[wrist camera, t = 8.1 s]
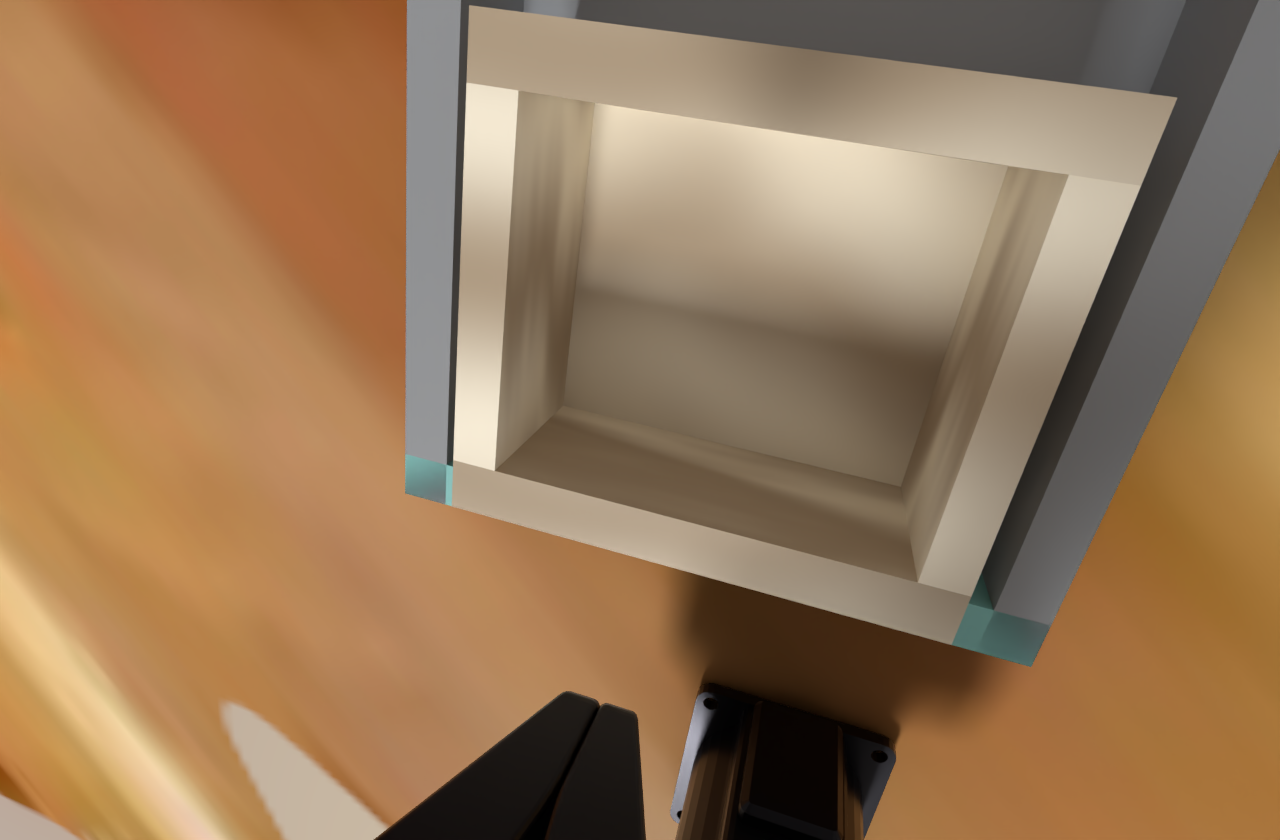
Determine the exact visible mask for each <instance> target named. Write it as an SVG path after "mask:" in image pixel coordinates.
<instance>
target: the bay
mask: <svg viewBox="0 0 1280 840" xmlns="http://www.w3.org/2000/svg"><path fill="white" fill-rule="evenodd" d="M469 5H472V6H479V7H487V8H495V9H502V10H510V11H518V12H525V13H533V14H541V15H548V16H556V17H564V18H571V19H579V20H587V21H594V22H602V23H610V24H617V25H625V26H633V27H640V28H648V29H656V30H663V31H671V32H679V33H686V34H694V35H702V36H709V37H717V38H725V39H733V40H740V41H748V42H756V43H763V44H771V45H779V46H786V47H794V48H802V49H809V50H817V51H825V52H832V53H840V54H848V55H855V56H863V57H871V58H878V59H886V60H894V61H901V62H909V63H917V64H924V65H932V66H940V67H947V68H955V69H963V70H970V71H978V72H986V73H993V74H1001V75H1009V76H1016V77H1024V78H1032V79H1039V80H1047V81H1055V82H1062V83H1070V84H1078V85H1085V86H1093V87H1101V88H1108V89H1116V90H1124V91H1131V92H1139V93H1147V94H1154V95H1162V96H1170V97H1177V100H1176V102H1175V105H1174V107H1173V110H1172V112H1171V115H1170V117H1169V119H1168V122H1167V124H1166V127H1165V129H1164V131H1163V134H1162V136H1161V139H1160V141H1159V144H1158V146H1157V148H1156V151H1155V153H1154V156H1153V158H1152V161H1151V163H1150V165H1149V168H1148V170H1147V173H1146V175H1145V177H1144V180H1143V182H1142V185H1141V187H1140V190H1139V192H1138V194H1137V197H1136V199H1135V202H1134V204H1133V207H1132V209H1131V211H1130V214H1129V216H1128V219H1127V221H1126V223H1125V226H1124V228H1123V231H1122V233H1121V236H1120V238H1119V240H1118V243H1117V245H1116V248H1115V250H1114V253H1113V255H1112V257H1111V260H1110V262H1109V265H1108V267H1107V270H1106V272H1105V274H1104V277H1103V279H1102V282H1101V284H1100V286H1099V289H1098V291H1097V294H1096V296H1095V299H1094V301H1093V303H1092V306H1091V308H1090V311H1089V313H1088V316H1087V318H1086V320H1085V323H1084V325H1083V328H1082V330H1081V332H1080V335H1079V337H1078V340H1077V342H1076V345H1075V347H1074V349H1073V352H1072V354H1071V357H1070V359H1069V362H1068V364H1067V366H1066V369H1065V371H1064V374H1063V376H1062V378H1061V381H1060V383H1059V386H1058V388H1057V391H1056V393H1055V395H1054V398H1053V400H1052V403H1051V405H1050V408H1049V410H1048V412H1047V415H1046V417H1045V420H1044V422H1043V424H1042V427H1041V429H1040V432H1039V434H1038V437H1037V439H1036V441H1035V444H1034V446H1033V449H1032V451H1031V454H1030V456H1029V458H1028V461H1027V463H1026V466H1025V468H1024V470H1023V473H1022V475H1021V478H1020V480H1019V483H1018V485H1017V487H1016V490H1015V492H1014V495H1013V497H1012V500H1011V502H1010V504H1009V507H1008V509H1007V512H1006V514H1005V516H1004V519H1003V521H1002V524H1001V526H1000V529H999V531H998V533H997V536H996V538H995V541H994V543H993V546H992V548H991V550H990V553H989V555H988V558H987V560H986V563H985V565H984V567H983V570H982V572H981V575H980V577H979V579H978V582H977V584H976V587H975V589H974V592H973V594H972V596H971V599H970V601H969V604H968V606H967V609H966V611H965V613H964V616H963V618H962V621H961V623H960V625H959V628H958V630H957V633H956V635H955V638H954V640H953V642H952V645H954V646H958V647H961V648H965V649H968V650H972V651H976V652H979V653H983V654H986V655H990V656H994V657H997V658H1001V659H1004V660H1008V661H1012V662H1015V663H1019V664H1022V665H1026V666H1030V667H1031V666H1032V664H1033V662H1034V660H1035V658H1036V656H1037V653H1038V651H1039V649H1040V647H1041V645H1042V643H1043V641H1044V639H1045V637H1046V635H1047V633H1048V631H1049V629H1050V626H1051V624H1052V622H1053V620H1054V618H1055V616H1056V614H1057V612H1058V610H1059V608H1060V606H1061V604H1062V601H1063V599H1064V597H1065V595H1066V593H1067V591H1068V589H1069V587H1070V585H1071V583H1072V581H1073V579H1074V576H1075V574H1076V572H1077V570H1078V568H1079V566H1080V564H1081V562H1082V560H1083V558H1084V556H1085V554H1086V551H1087V549H1088V547H1089V545H1090V543H1091V541H1092V539H1093V537H1094V535H1095V533H1096V531H1097V529H1098V527H1099V524H1100V522H1101V520H1102V518H1103V516H1104V514H1105V512H1106V510H1107V508H1108V506H1109V504H1110V502H1111V499H1112V497H1113V495H1114V493H1115V491H1116V489H1117V487H1118V485H1119V483H1120V481H1121V479H1122V477H1123V474H1124V472H1125V470H1126V468H1127V466H1128V464H1129V462H1130V460H1131V458H1132V456H1133V454H1134V452H1135V450H1136V447H1137V445H1138V443H1139V441H1140V439H1141V437H1142V435H1143V433H1144V431H1145V429H1146V427H1147V425H1148V422H1149V420H1150V418H1151V416H1152V414H1153V412H1154V410H1155V408H1156V406H1157V404H1158V402H1159V400H1160V397H1161V395H1162V393H1163V391H1164V389H1165V387H1166V385H1167V383H1168V381H1169V379H1170V377H1171V375H1172V373H1173V370H1174V368H1175V366H1176V364H1177V362H1178V360H1179V358H1180V356H1181V354H1182V352H1183V350H1184V348H1185V345H1186V343H1187V341H1188V339H1189V337H1190V335H1191V333H1192V331H1193V329H1194V327H1195V325H1196V323H1197V320H1198V318H1199V316H1200V314H1201V312H1202V310H1203V308H1204V306H1205V304H1206V302H1207V300H1208V298H1209V296H1210V293H1211V291H1212V289H1213V287H1214V285H1215V283H1216V281H1217V279H1218V277H1219V275H1220V273H1221V271H1222V268H1223V266H1224V264H1225V262H1226V260H1227V258H1228V256H1229V254H1230V252H1231V250H1232V248H1233V246H1234V243H1235V241H1236V239H1237V237H1238V235H1239V233H1240V231H1241V229H1242V227H1243V225H1244V223H1245V221H1246V218H1247V216H1248V214H1249V212H1250V210H1251V208H1252V206H1253V204H1254V202H1255V200H1256V198H1257V196H1258V194H1259V191H1260V189H1261V187H1262V185H1263V183H1264V181H1265V179H1266V177H1267V175H1268V173H1269V171H1270V169H1271V166H1272V164H1273V162H1274V160H1275V158H1276V156H1277V154H1278V152H1279V150H1280V0H407V168H406V447H405V493H406V494H410V495H414V496H417V497H421V498H424V499H428V500H432V501H435V502H439V503H442V504H446V505H450V506H452V482H453V454H454V425H455V397H456V368H457V340H458V311H459V283H460V254H461V226H462V197H463V169H464V140H465V112H466V83H467V55H468V26H469Z"/></svg>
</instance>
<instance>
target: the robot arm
mask: <svg viewBox="0 0 1280 840" xmlns="http://www.w3.org/2000/svg"><path fill="white" fill-rule="evenodd" d="M707 698H713V699H715V700H716V701H710V700H708V699H707ZM876 750H880V751H883V752H882V753H877V752H875V751H876ZM895 762H896V751H895V746H894V743H893V742H892V741H891V740H890V739H889V738H887V737H885V736H883V735H880V734H877V733H873V732H870V731H867V730H863V729H860V728H857V727H854V726H850V725H847V724H844V723H841V722H837V721H834V720H831V719H828V718H824V717H821V716H818V715H814V714H811V713H808V712H805V711H801V710H798V709H795V708H792V707H788V706H785V705H782V704H779V703H775V702H772V701H769V700H765V699H762V698H759V697H756V696H752V695H749V694H746V693H743V692H739V691H736V690H733V689H729V688H726V687H723V686H720V685H716V684H711V683H709V684H704V685H703V686H701V687H700V689H699V691H698V694H697V698H696V702H695V707H694V711H693V715H692V720H691V724H690V728H689V733H688V737H687V741H686V746H685V750H684V754H683V759H682V763H681V767H680V772H679V776H678V780H677V784H676V789H675V793H674V797H673V802H672V806H671V810H670V815H671V817H672V819H673V820H674V821H675V822H677V823H679V826H678V830H677V835H676V839H675V840H864V838H865V835H866V833H867V830H868V828H869V826H870V823H871V821H872V818H873V816H874V813H875V811H876V808H877V806H878V803H879V801H880V798H881V796H882V794H883V791H884V789H885V786H886V784H887V781H888V779H889V776H890V774H891V771H892V769H893V767H894V764H895ZM374 840H646V834H645V819H644V804H643V789H642V774H641V759H640V744H639V729H638V718H637V715H636V714H635V712H633V711H630V710H627V709H624V708H621V707H618V706H615V705H612V704H609V703H604V704H602V705H601V706H600V705H599V703H598V701H597V700H595V699H593V698H590V697H587V696H584V695H581V694H577V693H574V692H571V691H566V692H563V693H561V694H560V695H558V696H557V697H556V698H555V699H553V700H552V701H551V702H549V703H548V704H547V705H546V706H544V707H543V708H542V709H540V710H539V711H538V712H537V713H535V714H534V715H533V716H532V717H530V718H529V719H528V720H526V721H525V722H524V723H523V724H521V725H520V726H519V727H517V728H516V729H515V730H514V731H512V732H511V733H510V734H508V735H507V736H506V737H505V738H503V739H502V740H501V741H500V742H498V743H497V744H496V745H494V746H493V747H492V748H491V749H489V750H488V751H487V752H485V753H484V754H483V755H482V756H480V757H479V758H478V759H476V760H475V761H474V762H473V763H471V764H470V765H469V766H468V767H466V768H465V769H464V770H462V771H461V772H460V773H459V774H457V775H456V776H455V777H453V778H452V779H451V780H450V781H448V782H447V783H446V784H444V785H443V786H442V787H441V788H439V789H438V790H437V791H436V792H434V793H433V794H432V795H430V796H429V797H428V798H427V799H425V800H424V801H423V802H421V803H420V804H419V805H418V806H416V807H415V808H414V809H412V810H411V811H410V812H409V813H407V814H406V815H405V816H403V817H402V818H401V819H400V820H398V821H397V822H396V823H395V824H393V825H392V826H391V827H389V828H388V829H387V830H386V831H384V832H383V833H382V834H381V835H379V836H378V837H377V838H375V839H374Z"/></svg>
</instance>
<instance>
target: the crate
mask: <svg viewBox="0 0 1280 840" xmlns="http://www.w3.org/2000/svg"><path fill="white" fill-rule="evenodd" d="M1176 100H1177V97H1170V96H1162V95H1154V94H1147V93H1139V92H1131V91H1124V90H1116V89H1108V88H1101V87H1093V86H1085V85H1078V84H1070V83H1062V82H1055V81H1047V80H1039V79H1032V78H1024V77H1016V76H1009V75H1001V74H993V73H986V72H978V71H970V70H963V69H955V68H947V67H940V66H932V65H924V64H917V63H909V62H901V61H894V60H886V59H878V58H871V57H863V56H855V55H848V54H840V53H832V52H825V51H817V50H809V49H802V48H794V47H786V46H779V45H771V44H763V43H756V42H748V41H740V40H733V39H725V38H717V37H709V36H702V35H694V34H686V33H679V32H671V31H663V30H656V29H648V28H640V27H633V26H625V25H617V24H610V23H602V22H594V21H587V20H579V19H571V18H564V17H556V16H548V15H541V14H533V13H525V12H518V11H510V10H502V9H495V8H487V7H479V6H472V5H469V26H468V55H467V83H466V112H465V140H464V169H463V197H462V226H461V254H460V283H459V311H458V340H457V368H456V397H455V425H454V454H453V482H452V507H456V508H460V509H463V510H467V511H470V512H474V513H478V514H481V515H485V516H488V517H492V518H496V519H499V520H503V521H506V522H510V523H514V524H517V525H521V526H524V527H528V528H532V529H535V530H539V531H542V532H546V533H550V534H553V535H557V536H560V537H564V538H568V539H571V540H575V541H578V542H582V543H586V544H589V545H593V546H596V547H600V548H604V549H607V550H611V551H614V552H618V553H622V554H625V555H629V556H632V557H636V558H640V559H643V560H647V561H650V562H654V563H658V564H661V565H665V566H668V567H672V568H676V569H679V570H683V571H686V572H690V573H694V574H697V575H701V576H704V577H708V578H712V579H715V580H719V581H722V582H726V583H730V584H733V585H737V586H741V587H744V588H748V589H751V590H755V591H759V592H762V593H766V594H769V595H773V596H777V597H780V598H784V599H787V600H791V601H795V602H798V603H802V604H805V605H809V606H813V607H816V608H820V609H823V610H827V611H831V612H834V613H838V614H841V615H845V616H849V617H852V618H856V619H859V620H863V621H867V622H870V623H874V624H877V625H881V626H885V627H888V628H892V629H895V630H899V631H903V632H906V633H910V634H913V635H917V636H921V637H924V638H928V639H931V640H935V641H939V642H942V643H946V644H949V645H952V642H953V640H954V638H955V635H956V633H957V630H958V628H959V625H960V623H961V621H962V618H963V616H964V613H965V611H966V609H967V606H968V604H969V601H970V599H971V596H972V594H973V592H974V589H975V587H976V584H977V582H978V579H979V577H980V575H981V572H982V570H983V567H984V565H985V563H986V560H987V558H988V555H989V553H990V550H991V548H992V546H993V543H994V541H995V538H996V536H997V533H998V531H999V529H1000V526H1001V524H1002V521H1003V519H1004V516H1005V514H1006V512H1007V509H1008V507H1009V504H1010V502H1011V500H1012V497H1013V495H1014V492H1015V490H1016V487H1017V485H1018V483H1019V480H1020V478H1021V475H1022V473H1023V470H1024V468H1025V466H1026V463H1027V461H1028V458H1029V456H1030V454H1031V451H1032V449H1033V446H1034V444H1035V441H1036V439H1037V437H1038V434H1039V432H1040V429H1041V427H1042V424H1043V422H1044V420H1045V417H1046V415H1047V412H1048V410H1049V408H1050V405H1051V403H1052V400H1053V398H1054V395H1055V393H1056V391H1057V388H1058V386H1059V383H1060V381H1061V378H1062V376H1063V374H1064V371H1065V369H1066V366H1067V364H1068V362H1069V359H1070V357H1071V354H1072V352H1073V349H1074V347H1075V345H1076V342H1077V340H1078V337H1079V335H1080V332H1081V330H1082V328H1083V325H1084V323H1085V320H1086V318H1087V316H1088V313H1089V311H1090V308H1091V306H1092V303H1093V301H1094V299H1095V296H1096V294H1097V291H1098V289H1099V286H1100V284H1101V282H1102V279H1103V277H1104V274H1105V272H1106V270H1107V267H1108V265H1109V262H1110V260H1111V257H1112V255H1113V253H1114V250H1115V248H1116V245H1117V243H1118V240H1119V238H1120V236H1121V233H1122V231H1123V228H1124V226H1125V223H1126V221H1127V219H1128V216H1129V214H1130V211H1131V209H1132V207H1133V204H1134V202H1135V199H1136V197H1137V194H1138V192H1139V190H1140V187H1141V185H1142V182H1143V180H1144V177H1145V175H1146V173H1147V170H1148V168H1149V165H1150V163H1151V161H1152V158H1153V156H1154V153H1155V151H1156V148H1157V146H1158V144H1159V141H1160V139H1161V136H1162V134H1163V131H1164V129H1165V127H1166V124H1167V122H1168V119H1169V117H1170V115H1171V112H1172V110H1173V107H1174V105H1175V102H1176Z"/></svg>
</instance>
